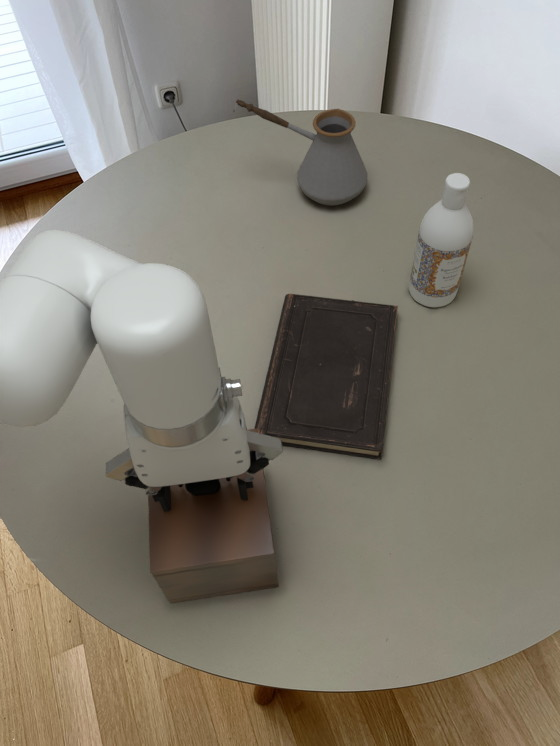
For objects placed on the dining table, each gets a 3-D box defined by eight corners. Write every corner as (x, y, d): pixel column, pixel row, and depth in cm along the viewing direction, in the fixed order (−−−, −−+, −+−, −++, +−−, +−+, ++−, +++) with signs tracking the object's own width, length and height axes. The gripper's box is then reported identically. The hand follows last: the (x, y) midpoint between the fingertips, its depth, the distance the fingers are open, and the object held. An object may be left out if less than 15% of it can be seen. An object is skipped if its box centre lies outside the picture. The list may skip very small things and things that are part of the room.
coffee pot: (371, 171, 110) (378, 90, 98) (360, 217, 104) (367, 137, 92) (249, 158, 114) (241, 77, 101) (232, 202, 107) (222, 121, 95)
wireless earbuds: (239, 479, 67) (234, 457, 63) (241, 502, 66) (236, 480, 61) (171, 487, 67) (162, 465, 63) (172, 510, 65) (162, 489, 61)
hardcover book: (395, 316, 92) (397, 305, 91) (380, 459, 80) (382, 450, 78) (285, 303, 95) (284, 292, 93) (253, 441, 82) (252, 432, 80)
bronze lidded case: (170, 603, 71) (149, 572, 62) (165, 486, 79) (146, 443, 70) (278, 587, 72) (274, 553, 62) (263, 472, 79) (257, 428, 70)
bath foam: (419, 314, 92) (443, 205, 76) (400, 279, 96) (420, 168, 80) (464, 302, 93) (497, 192, 77) (444, 269, 97) (472, 157, 81)
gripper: (279, 347, 53) (285, 448, 68) (66, 375, 53) (119, 471, 67) (293, 425, 49) (296, 515, 64) (62, 457, 48) (119, 540, 63)
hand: (205, 492), depth 65 cm, fingers closed on wireless earbuds, 7 cm apart
